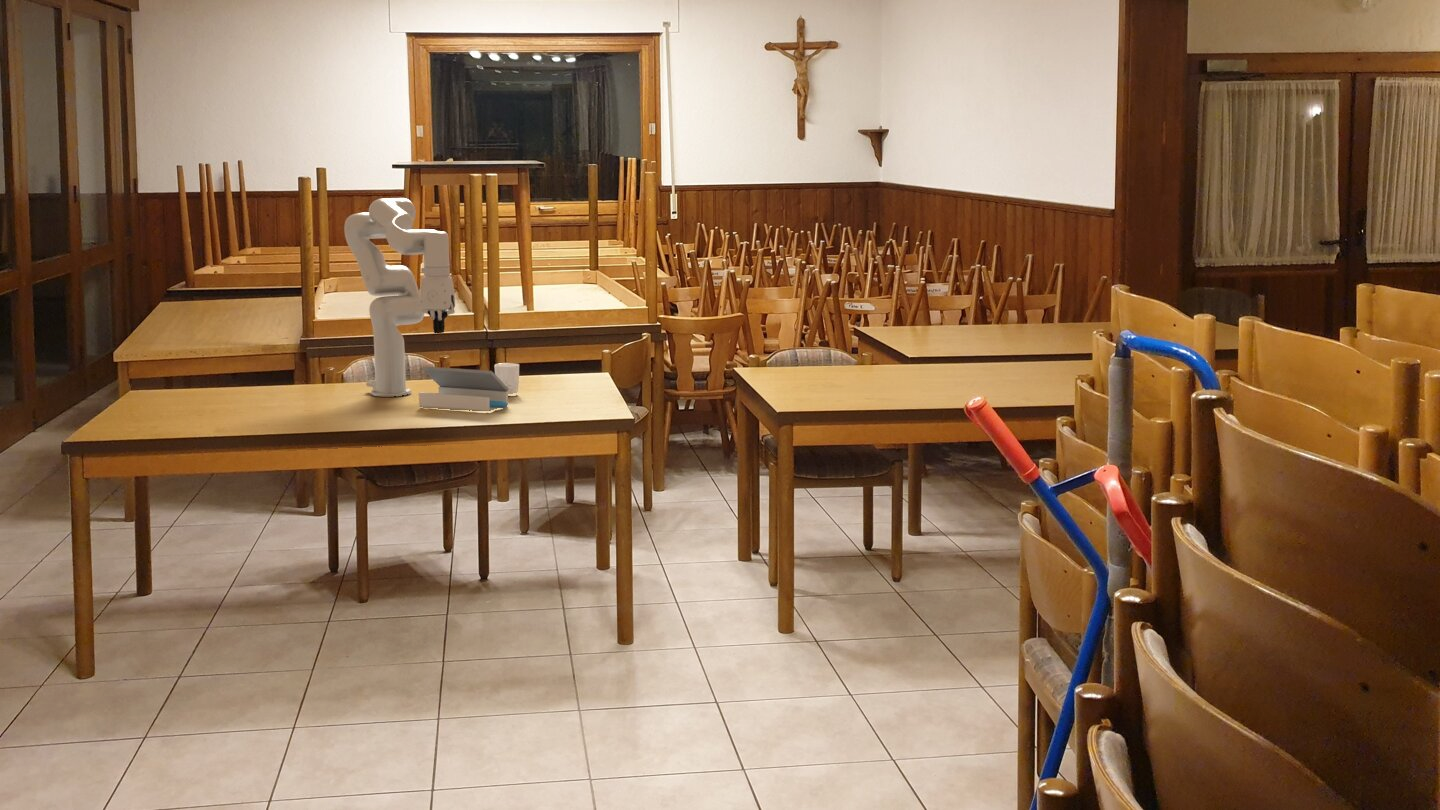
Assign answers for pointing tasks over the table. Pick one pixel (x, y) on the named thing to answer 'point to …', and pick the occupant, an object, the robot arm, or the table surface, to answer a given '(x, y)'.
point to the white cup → (508, 375)
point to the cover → (465, 378)
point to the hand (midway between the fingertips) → (439, 332)
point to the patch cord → (498, 404)
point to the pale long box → (462, 399)
